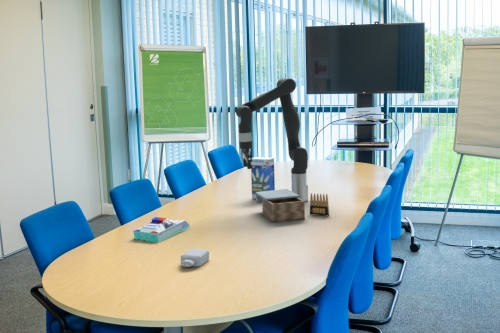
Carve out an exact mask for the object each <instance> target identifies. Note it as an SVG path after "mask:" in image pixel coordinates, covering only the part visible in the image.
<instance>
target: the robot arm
mask: <svg viewBox="0 0 500 333" xmlns="http://www.w3.org/2000/svg"><path fill="white" fill-rule="evenodd" d="M296 88H297V83H296V81H295V80H294V79H293V78H291V77H282V78H279V79H278V81H277V82H276V87H274V88H273V89H271V90H269V91H267V92H264V93H261V94H259V95H258V96H255V97H254V98H253V99H251V100H250V101H248V102H245V103H243V104H241V105H239V106H238V107H237V108H236V111H235V114H236V116H237V118H240V123H238V144H239V149H240V151H241V160H242V162H243V167H244V168H247V170H251V162H252V158H253V156H252V153H253V152H252V150H251V149H253V139H252V138H253V137H252V135H253V134H252V126H251V125H252V118H253V112H257V111H260V110H261V109H262V108H264V107H266V106H267V105H269V104H271V103H273V102H274V101H276V100H278V99H279V101H280V105H281V106H280V107H281V111H282V117H283V118H282V119H283V124H284V128H285V134H286V138H287V147H288V148H287V149H288V156H289V159H290V160H291V161H293V167H292V168H291V169H290V172H291V174H290V176H291V177H290V178H291V191H292V192H294V193H296V194H297V195H299V197H298V198H300V199H302V200H303V201H304V202H307V201H309V186H308V183H307V169H308V166H309V165H308V164H309V163H308V161H309V160H308V157H309V156H308V151H307V149H306V148H304V147H302V146H301V144H300V140H299V139H300V138H299V136H300V135H299V134H300V130H301V129H300V127H301V122H300V115H299V112H298V110H297V108H296V106H295V105H294V103H293V99H292V95H291V93H293V92H294V91H295V90H296ZM250 150H251V151H250Z"/></svg>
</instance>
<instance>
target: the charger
mask: <svg viewBox="0 0 500 333" xmlns="http://www.w3.org/2000/svg"><path fill="white" fill-rule="evenodd" d="M209 260H210V251H209V250H208V249H204V248H203V249H202V248H190V249H188V250H187V251H185V252H184V253H182V254H181V255H180V263H179V264H180V265H181V266H182V267H184V268H190V267H202V266H203V265H204V264H206V262H208V261H209Z"/></svg>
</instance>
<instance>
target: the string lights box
mask: <svg viewBox="0 0 500 333" xmlns="http://www.w3.org/2000/svg"><path fill="white" fill-rule="evenodd" d="M250 171H251V199H252V200H253V199H254V200H256V192H261V191H272V190H276V188H275V184H276V183H275V182H276V181H275V180H276V179H275V157H267V156H266V157H265V156H264V157H263V156H258V157H257V156H255V157H252V162H251V169H250Z"/></svg>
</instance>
